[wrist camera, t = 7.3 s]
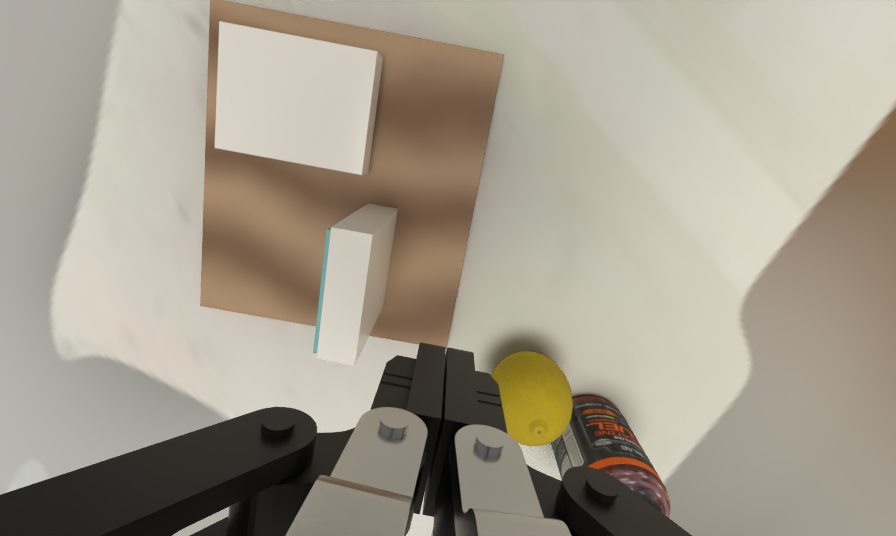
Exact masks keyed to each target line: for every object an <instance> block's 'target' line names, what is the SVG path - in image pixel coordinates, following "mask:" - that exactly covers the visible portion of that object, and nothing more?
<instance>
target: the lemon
mask: <svg viewBox="0 0 896 536" xmlns="http://www.w3.org/2000/svg"><path fill="white" fill-rule="evenodd" d="M491 376H492V377H493V379H494V380H495V381H496V382H497V383H498V385H499V390H500V395H501V396H500V398H501V401H502V407H503V412H504V417H505V422H506V428H507V433H508V435H510V436H511V437H512V438H513V439H514V440H515V441H516V442H518V443H520V444H523V445H527V446H541V445H546V444H548V443H551V442H553V441H554V440H556V439H557V438H559V437H560V436H561V435H562V433H563V432H564V431H565V430H566V428H567V426H568V424H569V422H570V419H571V414H572V408H573V402H572V394H571V388H570V385H569V383H568V381H567V379H566V376H565V374H564V373H563V371H562V370H561V369H560V368H559V367H558V365H557V364H556V363H555V362H554V361H552V360H551V359H549V358H548V357H546V356H545V355H542V354H539V353H537V352H531V351H522V352H517V353H514V354H511V355H509V356H508V357H506V358H504V359H503V360H502V361H501V362H500V363H499V364H498V365H497V366H496V368H495V370H494V372H493V373H492V375H491Z"/></svg>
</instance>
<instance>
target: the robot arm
mask: <svg viewBox="0 0 896 536" xmlns="http://www.w3.org/2000/svg"><path fill="white" fill-rule="evenodd" d="M445 349H446V347H443V346H438V345H433V344H428V343H423V342H420V344H419V349H418V354H417V359H413V358H408V357H403V356H398V355H397V356H396V357H394V358H393V359H391V360H390V361H388V362H387V363H386V366H385V369H384V372H383V375H382V378H381V381H380V384H379V387H378V390H377V392H376V395H375V398H374V401H373V404H372V407H371V410H370V411H368V412H366V413H365V414H363V415H362V417H361V418H360V420H359V422H358V423H357V425H356V427H355V428H353V429H350V430H347V431H342V432H333V433H317V426H316V423H315V421H314V420H313V419H312V418H311V417H310V416H309V415H308V414H306V413H304V412H302V411H300V410H297V409H293V408H286V407H271V408H265V409H261V410H257V411H254V412H251V413H248V414H245V415H242V416H239V417H236V418H233V419H230V420H227V421H224V422H221V423H218V424H215V425H212V426H209V427H206V428H203V429H200V430H197V431H194V432H190V433H187V434H184V435H181V436H178V437H175V438H172V439H169V440H166V441H163V442H161V443H157V444H154V445H151V446H148V447H145V448H142V449H139V450H136V451H133V452H130V453H127V454H124V455H120V456H117V457H114V458H111V459H108V460H105V461H102V462H99V463H96V464H93V465H90V466H87V467H84V468H81V469H78V470H75V471H72V472H69V473H66V474H63V475H60V476H57V477H53V478H50V479H47V480H44V481H41V482H38V483H35V484H32V485H29V486H26V487H23V488H20V489H17V490H14V491H11V492H8V493H5V494H2V495H0V536H172V535H173V534H175V533H176V532H178V531H179V530H181V529H183V528H185V527H187V526H189V525H192V524H194V523H196V522H197V521H200V520H202V519H204V518H206V517H208V516H210V515H212V514H214V513H216V512H219V511H221V510H222V509H225V508H227V507H229V506H230V508H229V516H228V517H226V518H224V519H222V520H220V521H218V522H216V523H214V524H212V525H210V526H208V527H207V528H204V529H202V530H200V531H198V532H196V533H194V534H192V535H190V536H406V534H407V533H408V531H409V529H410V525H411V521H412V516H413V513H416V514H420V510H421V505H422V501H423V496H424V505H423V515H427V516H433V517H434V527H433V531H432V535H431V536H692V535H690V534H689V533H687V532H686V531H685V530H683V529H682V528H681V527H680V526H678V525H677V524H676V523H675V522H673V521H672V520H670V519H669V518H668V517H667V516H665V515H664V514H663V513H661V512H660V511H659V510H657V509H656V508H655V507H654V506H652V505H651V504H650V503H648V502H647V501H646V500H644V499H643V498H642V497H640V496H639V495H638V494H636V493H635V492H634V491H633V490H631V489H630V488H629V487H627V486H626V485H625V484H623V483H622V482H621V481H619V480H618V479H616V478H615V477H613V476H612V475H610V474H608V473H606V472H604V471H601V470H599V469H596V468H592V467H586V466H575V467H572V468H569V469H568V470H567V471H566V472H565V473H564V475H563V478H562V481H560V480H558V479H555V478H553V477H550V476H548V475H546V474H543V473H541V472H539V471H537V470H535V469H533V468H531V467H530V466H528V465H527V464H526V462H525V459H524V456H523V452H522V450H521V448H520V446H519V444H518V443H517V442H516V441H515V440H514V439H513V438H512V437H511V436H510V435H508V433H507V428H506V422H505V417H504V412H503V407H502V401H501V398H500V396H501V395H500V390H499V385H498V383H497V382H496V381H495V380H494V379H493V377H492V376H491V375H490V374H489V373H484V372H479V371H475V365H474V354H473V352H468V351H463V350H458V349H453V348H447V350H446V354H445ZM424 492H425V495H424Z"/></svg>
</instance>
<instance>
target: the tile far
mask: <svg viewBox="0 0 896 536" xmlns="http://www.w3.org/2000/svg"><path fill="white" fill-rule="evenodd" d="M382 62H383V57H382V56H381V55H380V54H379V53H378V52H377V51H373V50H368V49H362V48H357V47H352V46H347V45H341V44H336V43H331V42H326V41H321V40H315V39H310V38H305V37H300V36H294V35H289V34H284V33H279V32H273V31H268V30H263V29H258V28H252V27H247V26H242V25H237V24H232V23H226V22H221V21H219V44H218V71H217V97H216V124H215V148H218V149H223V150H229V151H234V152H240V153H245V154H250V155H256V156H261V157H267V158H272V159H277V160H283V161H288V162H294V163H299V164H305V165H310V166H315V167H321V168H326V169H332V170H337V171H343V172H348V173H353V174H359V175H363V174H367V173H368V171H369V163H370V155H371V148H372V140H373V132H374V124H375V117H376V109H377V101H378V93H379V86H380V78H381V70H382Z"/></svg>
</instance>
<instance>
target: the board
mask: <svg viewBox="0 0 896 536" xmlns="http://www.w3.org/2000/svg"><path fill="white" fill-rule="evenodd" d="M219 21H221V22H226V23H232V24H237V25H242V26H247V27H252V28H258V29H263V30H268V31H273V32H279V33H284V34H289V35H294V36H300V37H305V38H310V39H315V40H321V41H326V42H331V43H336V44H341V45H347V46H352V47H357V48H362V49H368V50H373V51H377V52H378V53H379V54H380V55H381V56H382V57H383V62H382V70H381V78H380V86H379V93H378V101H377V109H376V117H375V124H374V132H373V140H372V148H371V155H370V163H369V171H368V173H367V174H363V175H359V174H353V173H348V172H343V171H337V170H332V169H326V168H321V167H315V166H310V165H305V164H299V163H294V162H288V161H283V160H277V159H272V158H267V157H261V156H256V155H250V154H245V153H240V152H234V151H229V150H223V149H218V148H215V124H216V97H217V71H218V44H219ZM503 57H504V55H503V54H498V53H492V52H487V51H482V50H477V49H472V48H466V47H461V46H456V45H451V44H446V43H440V42H435V41H430V40H425V39H420V38H414V37H409V36H404V35H399V34H393V33H388V32H383V31H378V30H373V29H367V28H362V27H357V26H352V25H347V24H341V23H336V22H331V21H326V20H321V19H315V18H310V17H305V16H300V15H295V14H289V13H284V12H279V11H274V10H269V9H263V8H258V7H253V6H248V5H243V4H237V3H232V2H227V1H222V0H210V27H209V58H208V89H207V119H206V150H205V181H204V211H203V242H202V273H201V303H200V306H204V307H209V308H215V309H221V310H227V311H232V312H238V313H244V314H249V315H255V316H261V317H266V318H272V319H278V320H283V321H289V322H295V323H300V324H306V325H312V326H316V323H317V314H318V305H319V296H320V286H321V277H322V268H323V259H324V250H325V240H326V231H327V229H328V228H330V227H331V226H333V225H335V224H336V223H338V222H339V221H341V220H343V219H344V218H346V217H347V216H349V215H350V214H352V213H354V212H355V211H357V210H358V209H360V208H362V207H363V206H365V205H367V204H368V203H369V204H374V205H380V206H385V207H391V208H396V209H398V211H397V218H396V225H395V231H394V238H393V245H392V251H391V258H390V265H389V271H388V278H387V285H386V291H385V298H384V305H383V307H382V309H381V311H380V314H379V316H378V318H377V320H376V322H375V324H374V326H373V328H372V330H371V332H370V335H369V336H374V337H380V338H386V339H391V340H397V341H403V342H408V343H414V344H420V342H423V343H428V344H433V345H438V346H443V347H446V348H447V343H448V338H449V333H450V327H451V322H452V317H453V312H454V307H455V302H456V297H457V292H458V287H459V281H460V276H461V271H462V266H463V261H464V256H465V251H466V246H467V241H468V235H469V230H470V225H471V220H472V215H473V210H474V205H475V200H476V195H477V190H478V184H479V179H480V174H481V169H482V164H483V159H484V154H485V149H486V144H487V138H488V133H489V128H490V123H491V118H492V113H493V108H494V103H495V98H496V92H497V87H498V82H499V77H500V72H501V67H502V62H503Z"/></svg>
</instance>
